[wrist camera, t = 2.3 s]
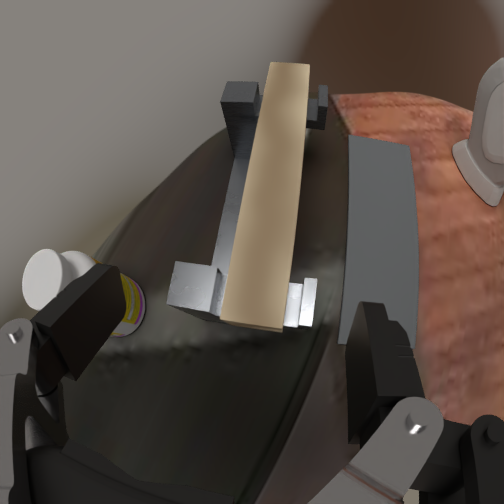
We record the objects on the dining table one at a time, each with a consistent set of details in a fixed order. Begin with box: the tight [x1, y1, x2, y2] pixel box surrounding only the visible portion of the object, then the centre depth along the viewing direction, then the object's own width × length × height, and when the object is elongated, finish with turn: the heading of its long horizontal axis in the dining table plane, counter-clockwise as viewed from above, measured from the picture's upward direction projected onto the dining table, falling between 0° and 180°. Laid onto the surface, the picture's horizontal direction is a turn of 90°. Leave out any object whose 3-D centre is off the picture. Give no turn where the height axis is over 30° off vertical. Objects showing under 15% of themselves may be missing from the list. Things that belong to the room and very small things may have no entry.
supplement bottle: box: [22, 249, 145, 337], centre depth 24 cm, size 7×7×13 cm
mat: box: [337, 135, 419, 349], centre depth 30 cm, size 8×24×1 cm, turn 171°
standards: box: [166, 82, 328, 330], centre depth 27 cm, size 10×21×10 cm, turn 171°
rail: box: [220, 62, 310, 333], centre depth 22 cm, size 4×22×4 cm, turn 171°
